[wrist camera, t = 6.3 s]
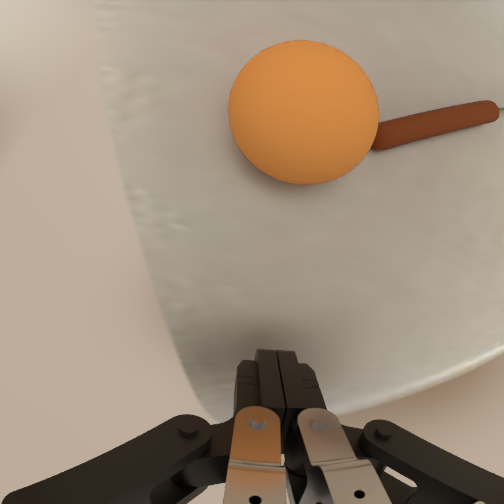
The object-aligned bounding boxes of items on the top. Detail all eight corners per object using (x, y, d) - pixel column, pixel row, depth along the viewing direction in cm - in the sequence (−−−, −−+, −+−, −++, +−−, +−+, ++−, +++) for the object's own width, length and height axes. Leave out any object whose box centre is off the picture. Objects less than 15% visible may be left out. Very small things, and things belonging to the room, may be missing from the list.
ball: (355, 78, 14) (407, 40, 8) (344, 189, 16) (395, 202, 10) (239, 59, 14) (236, 5, 8) (225, 174, 15) (212, 177, 10)
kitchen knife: (367, 153, 16) (382, 151, 14) (359, 128, 15) (373, 123, 13) (535, 111, 15) (553, 110, 13) (530, 94, 14) (548, 91, 12)
